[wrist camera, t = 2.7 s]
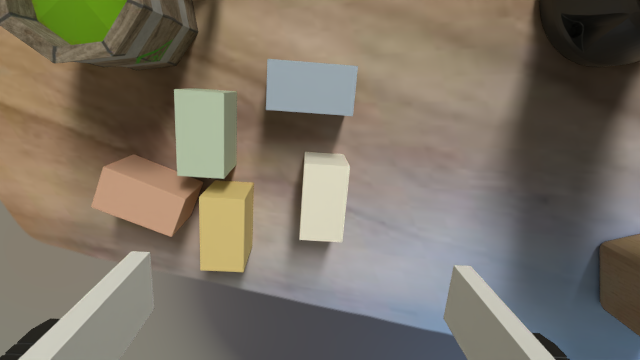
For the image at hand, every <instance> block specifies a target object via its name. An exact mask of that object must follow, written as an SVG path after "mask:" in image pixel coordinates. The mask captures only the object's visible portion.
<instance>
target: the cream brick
mask: <svg viewBox="0 0 640 360" xmlns="http://www.w3.org/2000/svg"><path fill="white" fill-rule="evenodd" d="M349 172H350V165H349V164H348V162H347V160H346V158H345V156H344V154H330V153H316V152H305V157H304V172H303V187H302V203H301V218H300V238H299V240H311V241H329V242H342V240H343V230H344V220H345V211H346V201H347V191H348V181H349Z"/></svg>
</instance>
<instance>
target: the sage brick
mask: <svg viewBox="0 0 640 360" xmlns="http://www.w3.org/2000/svg"><path fill="white" fill-rule="evenodd" d="M174 102H175V129H176V155H177V176H189V177H205V178H221V179H224V178H225V177H226V176H227V175H228V174H229V172H230V171H231V170H232V169H233V168H234V167H235V166H236V145H237V92H236V91H223V90H210V89H197V88H191V89H174Z"/></svg>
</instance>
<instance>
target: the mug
mask: <svg viewBox="0 0 640 360" xmlns="http://www.w3.org/2000/svg"><path fill="white" fill-rule="evenodd" d="M0 26H2V27H3V28H4V29H6V30H7V31H9V32H10V33H12V34H13V35H14V36H16V37H17V38H19V39H20V40H22V41H23V42H24V43H26V44H27V45H29V46H30V47H31V48H33V49H34V50H36V51H37V52H39V53H40V54H41V55H43V56H44V57H46V58H47V59H49V60H50V61H51V62H53V63H64V62H81V63H89V64H93V65H97V66H101V67H113V66H120V67H128V68H131V69H134V70H144V69H152V68H161V67H169V66H176V65H177V64H178V62H179V61H180V59H181V58H182V56H183V55H184V53H185V51H186V50H187V48H188V47H189V45H190V44H191V42H192V41H193V39H194V38H195V36H196V35H197V33H198V28H197V23H196V18H195V13H194V8H193V3H192V0H0Z"/></svg>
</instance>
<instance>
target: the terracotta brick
mask: <svg viewBox="0 0 640 360" xmlns="http://www.w3.org/2000/svg"><path fill="white" fill-rule="evenodd" d="M202 185H203V182H202V181H199V180H197V179H194V178H192V177H189V176H177V171H174V170H172V169H169V168H167V167H164V166H162V165H159V164H157V163H155V162H152V161H150V160H147V159H145V158H142V157H140V156H137V155H135V154H133V155H131V156H128V157H126V158H123V159H121V160H118V161H116V162H113V163H111V164H108V165H106V166H103V169H102V172H101V176H100V179H99V182H98V186H97V189H96V193H95V196H94V199H93V203H92V206H91V207H93V208H95V209H98V210H101V211H103V212H106V213H109V214H111V215H114V216H117V217H119V218H122V219H125V220H127V221H130V222H133V223H135V224H138V225H141V226H143V227H146V228H149V229H151V230H154V231H157V232H159V233H162V234H165V235H167V236H170V237H172V236H173V235H174V234H175V233H176V231H177V230H178V229H179V228H180V227H181V226H182V225H183V224H184V223H185V221H186V220H187V219H188V218H189V217H190V216H191V214H192V211H193V208H194V206H195V203H196V201H197V198H198V195H199V193H200V190H201V187H202Z"/></svg>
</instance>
